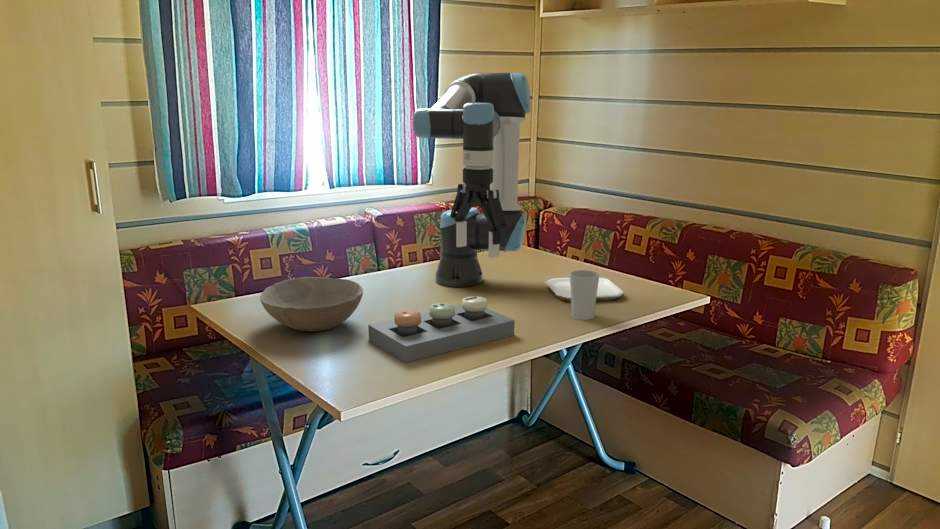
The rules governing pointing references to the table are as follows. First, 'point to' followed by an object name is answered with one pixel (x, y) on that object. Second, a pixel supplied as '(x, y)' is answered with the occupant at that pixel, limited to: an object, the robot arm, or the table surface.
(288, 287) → the bowl
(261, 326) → the table surface
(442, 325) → the button two
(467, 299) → the button three
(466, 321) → the console
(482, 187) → the robot arm
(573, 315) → the cup
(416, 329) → the button one
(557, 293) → the plate
